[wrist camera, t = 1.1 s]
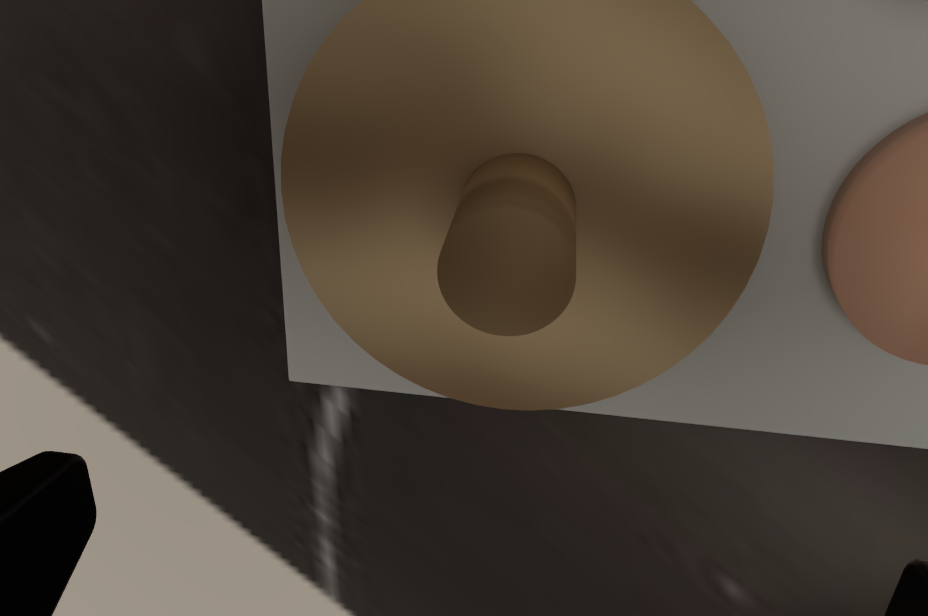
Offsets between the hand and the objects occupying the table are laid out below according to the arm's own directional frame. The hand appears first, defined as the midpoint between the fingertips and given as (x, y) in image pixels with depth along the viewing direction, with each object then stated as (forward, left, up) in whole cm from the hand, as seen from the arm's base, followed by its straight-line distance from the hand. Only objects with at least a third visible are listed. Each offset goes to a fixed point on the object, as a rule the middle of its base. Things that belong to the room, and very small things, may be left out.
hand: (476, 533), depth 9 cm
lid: (0, 0, -11) cm, 11 cm away
